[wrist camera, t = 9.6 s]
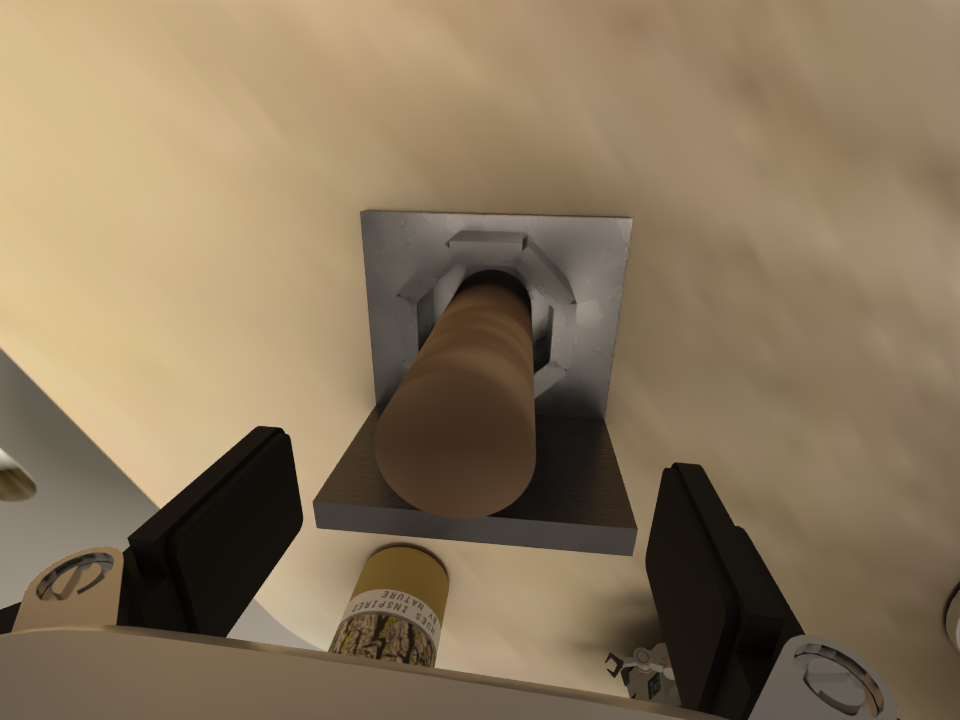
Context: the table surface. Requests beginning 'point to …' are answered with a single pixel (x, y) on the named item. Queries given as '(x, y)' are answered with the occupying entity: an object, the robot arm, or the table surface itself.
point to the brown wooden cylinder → (466, 406)
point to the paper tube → (395, 609)
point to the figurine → (649, 675)
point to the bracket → (556, 363)
